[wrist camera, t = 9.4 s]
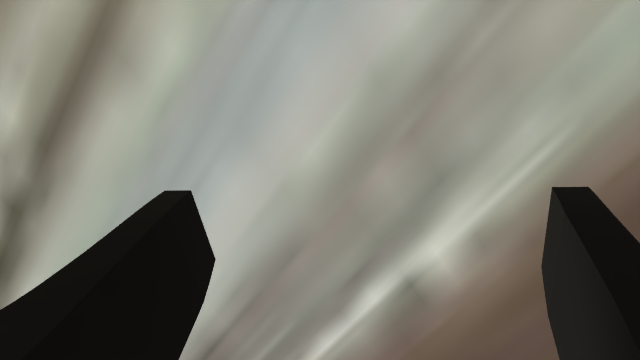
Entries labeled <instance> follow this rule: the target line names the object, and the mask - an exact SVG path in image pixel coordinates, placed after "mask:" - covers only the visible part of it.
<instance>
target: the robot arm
mask: <svg viewBox="0 0 640 360" xmlns="http://www.w3.org/2000/svg"><path fill="white" fill-rule="evenodd" d="M214 263H215V257H214V254H213V251H212V248H211V246H210V243H209V240H208V237H207V234H206V232H205V229H204V226H203V223H202V220H201V218H200V215H199V212H198V209H197V206H196V203H195V201H194V198H193V195H192V192H191V191H164V192H162V193H161V194H159V195H158V196H157V197H155V198H154V199H152V200H151V201H150V202H148V203H147V204H146V205H144V206H143V207H142V208H140V209H139V210H138V211H137V212H135V213H134V214H133V215H131V216H130V217H129V218H128V219H126V220H125V221H124V222H123V223H121V224H120V225H119V226H117V227H116V228H115V229H114V230H112V231H111V232H110V233H108V234H107V235H106V236H105V237H103V238H102V239H101V240H99V241H98V242H97V243H96V244H94V245H93V246H92V247H90V248H89V249H88V250H87V251H85V252H84V253H83V254H81V255H80V256H79V257H77V258H76V259H74V260H73V261H72V262H70V263H69V264H68V265H66V266H65V267H63V268H62V269H61V270H59V271H58V272H56V273H55V274H54V275H52V276H51V277H50V278H48V279H47V280H45V281H44V282H43V283H41V284H40V285H38V286H37V287H35V288H34V289H32V290H31V291H30V292H28V293H26V294H25V295H23V296H22V297H20V298H19V299H17V300H16V301H14V302H13V303H11V304H9V305H8V306H6V307H5V308H3V309H1V310H0V360H179V357H180V355H181V353H182V351H183V348H184V346H185V344H186V342H187V339H188V337H189V335H190V333H191V330H192V328H193V326H194V323H195V321H196V319H197V316H198V314H199V312H200V309H201V307H202V304H203V302H204V299H205V296H206V292H207V289H208V286H209V282H210V279H211V275H212V271H213V267H214ZM541 267H542V275H543V283H544V290H545V297H546V304H547V311H548V317H549V321H550V325H551V329H552V332H553V336H554V340H555V344H556V347H557V351H558V355H559V359H560V360H640V243H639V242H638V241H637V240H636V239H635V238H634V236H633V235H632V234H631V233H630V232H629V231H628V230H627V229H626V228H625V227H624V226H623V224H622V223H621V222H620V221H619V220H618V219H617V218H616V217H615V216H614V214H613V213H612V212H611V211H610V210H609V209H608V208H607V207H606V205H605V204H604V203H603V202H602V201H601V200H600V199H599V198H598V196H597V195H596V194H595V193H594V192H593V191H592V190H591V189H590V188H589V187H552V192H551V199H550V207H549V214H548V222H547V229H546V237H545V244H544V251H543V259H542V266H541Z"/></svg>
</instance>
